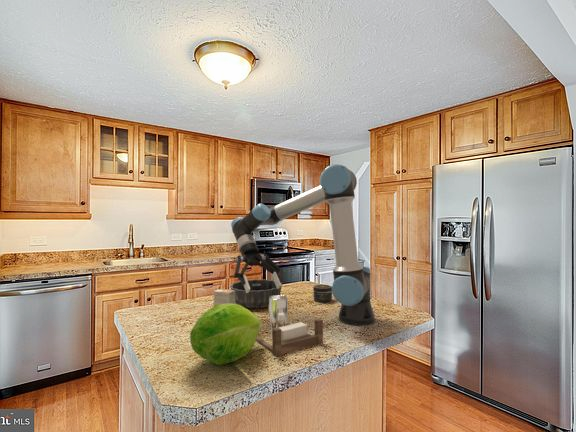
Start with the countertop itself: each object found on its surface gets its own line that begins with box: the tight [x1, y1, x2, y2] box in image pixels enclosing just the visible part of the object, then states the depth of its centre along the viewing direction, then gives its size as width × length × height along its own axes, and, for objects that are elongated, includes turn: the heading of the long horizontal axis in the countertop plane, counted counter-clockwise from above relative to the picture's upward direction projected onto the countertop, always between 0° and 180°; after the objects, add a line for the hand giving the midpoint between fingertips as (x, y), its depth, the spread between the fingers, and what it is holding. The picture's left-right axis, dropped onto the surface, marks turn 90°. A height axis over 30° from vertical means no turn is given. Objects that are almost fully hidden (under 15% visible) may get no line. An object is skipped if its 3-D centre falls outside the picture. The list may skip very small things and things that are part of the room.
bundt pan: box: [229, 278, 283, 309], centre depth 160 cm, size 26×26×10 cm
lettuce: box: [189, 303, 263, 366], centre depth 97 cm, size 19×25×17 cm
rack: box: [256, 318, 324, 357], centre depth 111 cm, size 21×18×9 cm
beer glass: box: [268, 294, 289, 339], centre depth 114 cm, size 7×7×15 cm
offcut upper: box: [279, 321, 308, 340], centre depth 106 cm, size 4×10×3 cm, turn 125°
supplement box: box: [213, 288, 236, 307], centre depth 133 cm, size 8×5×13 cm, turn 65°
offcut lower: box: [281, 331, 311, 343], centre depth 106 cm, size 4×12×3 cm, turn 122°
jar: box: [312, 284, 333, 304], centre depth 166 cm, size 10×10×8 cm
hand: (264, 288), depth 123 cm, fingers open, 13 cm apart
